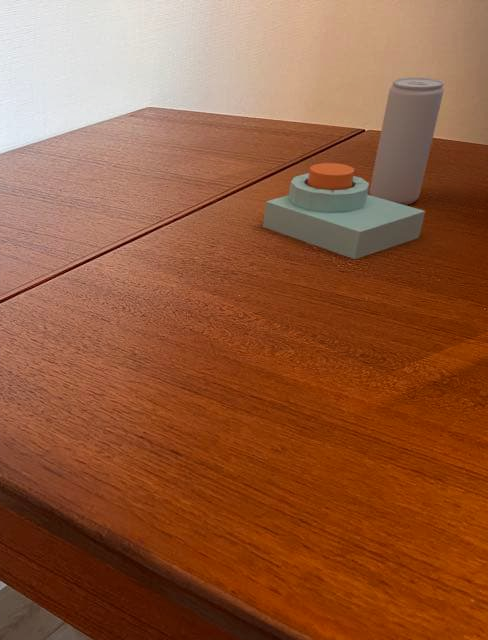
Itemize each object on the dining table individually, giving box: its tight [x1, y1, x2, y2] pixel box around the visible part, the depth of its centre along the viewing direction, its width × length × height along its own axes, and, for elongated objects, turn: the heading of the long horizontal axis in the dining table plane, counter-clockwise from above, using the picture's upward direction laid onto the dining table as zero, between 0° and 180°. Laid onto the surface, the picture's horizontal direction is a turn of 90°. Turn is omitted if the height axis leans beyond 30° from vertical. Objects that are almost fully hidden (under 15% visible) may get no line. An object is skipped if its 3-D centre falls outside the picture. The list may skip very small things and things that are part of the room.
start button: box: [307, 162, 355, 190], centre depth 83 cm, size 4×4×2 cm
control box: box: [262, 172, 426, 260], centre depth 83 cm, size 11×9×4 cm
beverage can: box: [368, 76, 445, 206], centre depth 88 cm, size 5×5×12 cm
